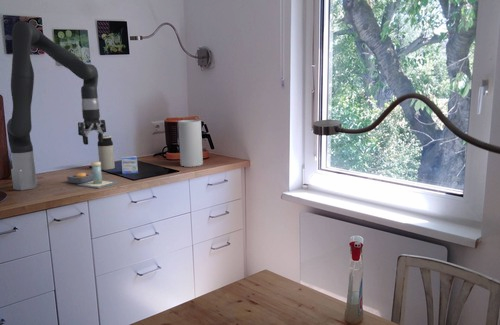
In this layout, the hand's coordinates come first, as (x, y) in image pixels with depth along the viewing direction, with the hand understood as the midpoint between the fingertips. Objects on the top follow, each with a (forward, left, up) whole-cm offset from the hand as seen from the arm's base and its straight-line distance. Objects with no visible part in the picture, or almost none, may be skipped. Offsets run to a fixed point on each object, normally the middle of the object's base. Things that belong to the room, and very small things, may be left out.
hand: (93, 143), depth 214 cm
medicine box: (+26, +4, -20) cm, 33 cm away
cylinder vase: (+56, -14, -20) cm, 61 cm away
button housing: (+1, +12, -20) cm, 23 cm away
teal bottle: (0, 0, -19) cm, 19 cm away
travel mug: (+29, +24, -20) cm, 43 cm away
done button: (+1, +12, -18) cm, 22 cm away
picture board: (0, 0, -20) cm, 20 cm away
